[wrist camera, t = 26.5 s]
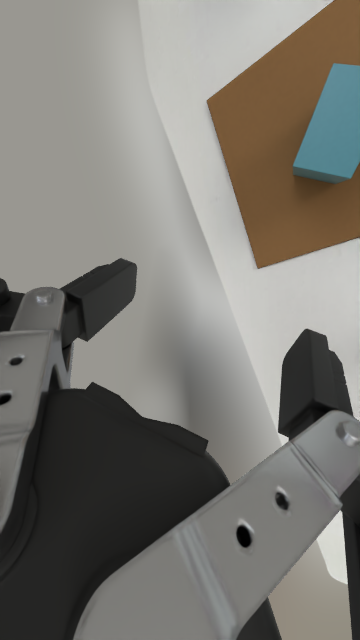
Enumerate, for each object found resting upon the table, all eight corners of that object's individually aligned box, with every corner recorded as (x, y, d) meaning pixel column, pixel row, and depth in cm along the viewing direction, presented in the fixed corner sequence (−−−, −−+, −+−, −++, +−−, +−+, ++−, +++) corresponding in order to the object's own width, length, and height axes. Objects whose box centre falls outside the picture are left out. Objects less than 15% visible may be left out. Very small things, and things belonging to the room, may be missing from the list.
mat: (207, 101, 26) (206, 100, 26) (471, -105, 15) (475, -112, 15) (258, 267, 31) (257, 268, 31) (477, 199, 21) (480, 199, 21)
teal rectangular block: (292, 174, 25) (292, 166, 19) (322, 102, 22) (333, 62, 16) (335, 184, 24) (350, 178, 18) (373, 109, 21) (408, 69, 14)
